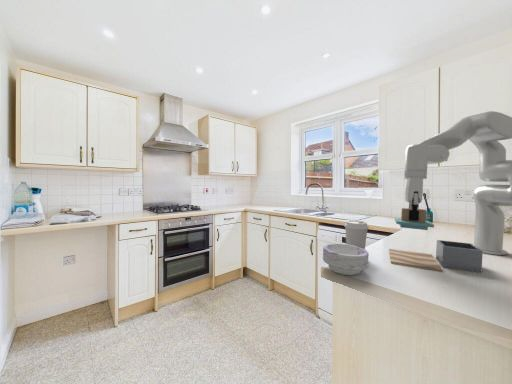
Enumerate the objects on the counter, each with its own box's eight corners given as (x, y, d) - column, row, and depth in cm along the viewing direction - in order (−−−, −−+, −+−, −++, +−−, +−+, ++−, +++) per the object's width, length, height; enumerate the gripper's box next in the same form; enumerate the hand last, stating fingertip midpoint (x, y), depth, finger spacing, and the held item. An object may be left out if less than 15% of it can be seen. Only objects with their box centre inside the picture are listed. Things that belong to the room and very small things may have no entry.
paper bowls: (378, 276, 76) (379, 253, 76) (340, 281, 72) (340, 257, 72) (347, 261, 91) (348, 241, 90) (314, 264, 86) (315, 244, 86)
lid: (394, 223, 101) (395, 206, 101) (427, 226, 95) (428, 209, 95) (396, 227, 91) (397, 209, 90) (433, 231, 85) (434, 211, 85)
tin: (435, 258, 95) (436, 239, 95) (470, 263, 90) (471, 243, 89) (442, 266, 86) (443, 246, 85) (481, 272, 80) (482, 250, 80)
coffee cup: (361, 262, 89) (362, 225, 89) (339, 256, 96) (340, 221, 96) (371, 257, 96) (372, 222, 95) (349, 251, 103) (350, 219, 102)
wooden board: (389, 250, 106) (389, 248, 106) (431, 255, 99) (431, 254, 99) (390, 263, 89) (390, 261, 89) (442, 271, 81) (442, 269, 81)
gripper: (402, 176, 101) (400, 216, 102) (406, 174, 87) (403, 221, 88) (423, 176, 98) (420, 218, 98) (430, 174, 83) (427, 223, 84)
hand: (412, 219), depth 93 cm, fingers closed on lid, 3 cm apart
